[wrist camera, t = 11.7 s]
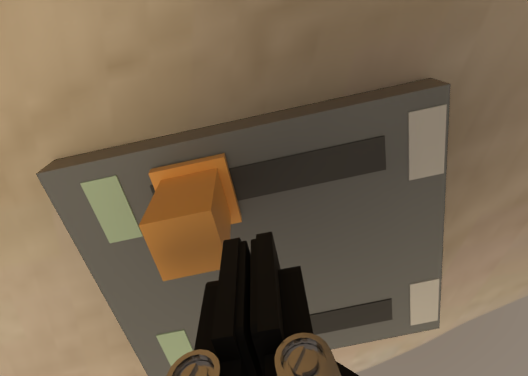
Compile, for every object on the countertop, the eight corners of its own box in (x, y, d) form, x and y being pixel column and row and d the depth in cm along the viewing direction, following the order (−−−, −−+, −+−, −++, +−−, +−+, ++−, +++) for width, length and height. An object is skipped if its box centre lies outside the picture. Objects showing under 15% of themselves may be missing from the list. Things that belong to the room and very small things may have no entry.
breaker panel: (430, 78, 19) (451, 84, 17) (425, 307, 27) (440, 329, 25) (54, 160, 20) (34, 174, 18) (158, 361, 28) (152, 385, 26)
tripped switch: (224, 152, 18) (219, 196, 13) (241, 216, 20) (242, 274, 15) (151, 168, 18) (121, 217, 14) (174, 230, 20) (156, 291, 15)
